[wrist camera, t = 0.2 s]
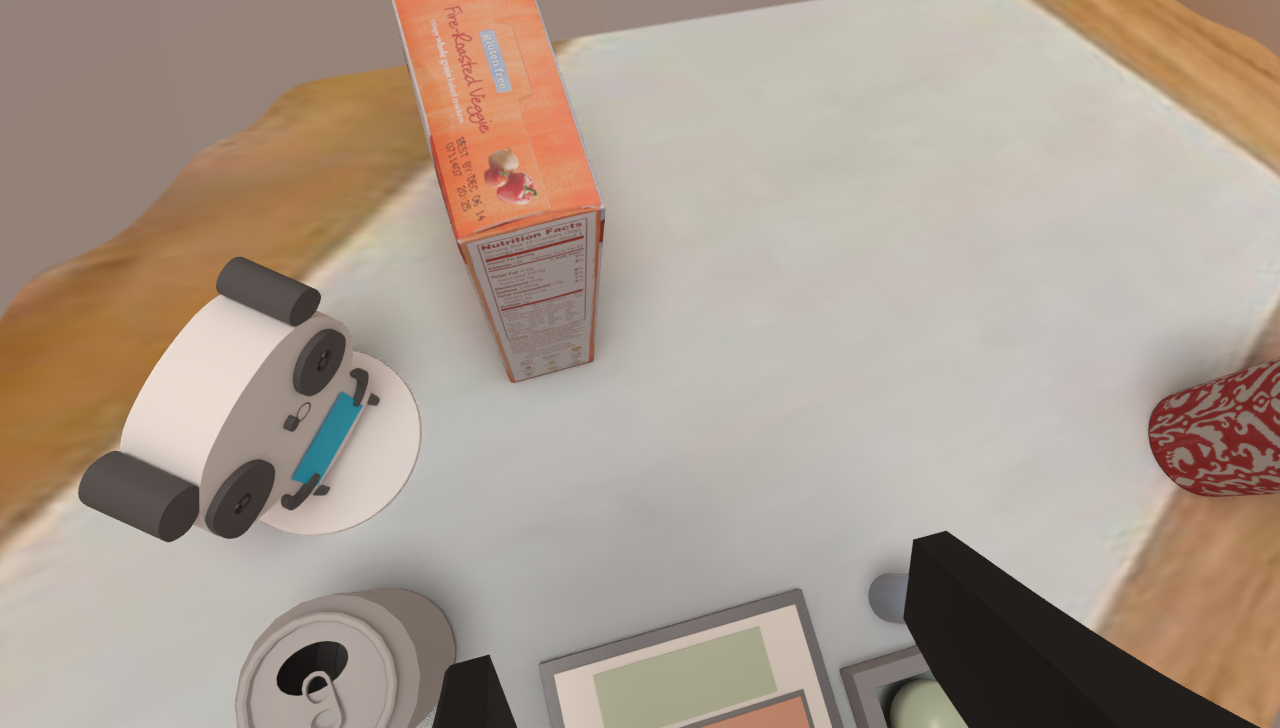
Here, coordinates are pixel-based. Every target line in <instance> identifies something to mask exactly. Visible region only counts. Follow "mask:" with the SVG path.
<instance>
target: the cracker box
mask: <svg viewBox="0 0 1280 728" xmlns="http://www.w3.org/2000/svg"><path fill="white" fill-rule="evenodd" d="M391 2H392V6H393V10H394V14H395V19H396V23H397V27H398V31H399V35H400V39H401V43H402V47H403V51H404V55H405V59H406V63H407V67H408V71H409V75H410V78H411V82H412V86H413V89H414V93H415V97H416V101H417V105H418V109H419V113H420V117H421V120H422V124H423V128H424V132H425V136H426V140H427V144H428V148H429V151H430V155H431V158H432V161H433V165H434V168H435V172H436V175H437V179H438V182H439V186H440V189H441V193H442V196H443V199H444V203H445V206H446V209H447V213H448V216H449V219H450V223H451V226H452V229H453V232H454V235H455V238H456V242H457V245H458V248H459V250H460V253H461V255H462V257H463V260H464V262H465V265H466V268H467V270H468V273H469V276H470V278H471V281H472V283H473V286H474V288H475V291H476V293H477V295H478V298H479V301H480V303H481V306H482V309H483V311H484V314H485V317H486V319H487V322H488V325H489V327H490V330H491V332H492V335H493V337H494V340H495V342H496V345H497V348H498V350H499V353H500V355H501V358H502V361H503V363H504V365H505V368H506V371H507V373H508V376H509V379H510V381H511V382H513V383H514V382H517V381H520V380H524V379H528V378H532V377H536V376H539V375H543V374H547V373H551V372H554V371H558V370H561V369H565V368H569V367H572V366H576V365H580V364H583V363H587V362H591V361H593V360H594V344H595V330H596V317H597V305H598V293H599V279H600V267H601V256H602V244H603V232H604V222H605V206H604V203H603V200H602V197H601V194H600V191H599V188H598V185H597V182H596V179H595V176H594V173H593V170H592V167H591V164H590V160H589V157H588V154H587V151H586V148H585V145H584V142H583V139H582V136H581V133H580V130H579V127H578V124H577V121H576V118H575V115H574V112H573V109H572V106H571V102H570V99H569V96H568V93H567V90H566V87H565V84H564V81H563V78H562V75H561V72H560V69H559V66H558V63H557V60H556V57H555V54H554V51H553V48H552V46H551V43H550V40H549V37H548V34H547V31H546V28H545V25H544V22H543V19H542V16H541V13H540V10H539V7H538V4H537V1H536V0H391Z"/></svg>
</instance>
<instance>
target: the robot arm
mask: <svg viewBox="0 0 1280 728" xmlns="http://www.w3.org/2000/svg"><path fill="white" fill-rule="evenodd" d="M903 619H904V621H905V623H906V625H907V627H908V629H909V630H910V632H911V634H912V636H913V638H914V640H915V642H916V644H917V646H918V648H919V650H920V652H921V654H922V655H923V657H924V659H925V661H926V663H927V665H928V666H929V668H930V670H931V672H932V674H933V676H934V677H935V679H936V680H937V682H938V683H939V685H940V686H941V688H942V689H943V691H944V692H945V694H946V695H947V697H948V698H949V700H950V701H951V703H952V704H953V706H954V707H955V709H956V710H957V712H958V713H959V715H960V716H961V718H962V719H963V720H964V722H965V723H966V725H967V726H968V728H1260V727H1258V726H1256V725H1254V724H1252V723H1250V722H1248V721H1246V720H1245V719H1243V718H1241V717H1239V716H1237V715H1235V714H1233V713H1232V712H1230V711H1228V710H1226V709H1224V708H1222V707H1220V706H1219V705H1217V704H1215V703H1213V702H1211V701H1209V700H1207V699H1206V698H1204V697H1202V696H1200V695H1198V694H1196V693H1194V692H1193V691H1191V690H1189V689H1187V688H1185V687H1184V686H1182V685H1180V684H1178V683H1177V682H1175V681H1173V680H1171V679H1170V678H1168V677H1166V676H1165V675H1163V674H1161V673H1159V672H1158V671H1156V670H1154V669H1153V668H1151V667H1149V666H1148V665H1146V664H1145V663H1143V662H1141V661H1140V660H1138V659H1136V658H1135V657H1133V656H1131V655H1130V654H1128V653H1126V652H1125V651H1123V650H1121V649H1120V648H1118V647H1117V646H1115V645H1113V644H1112V643H1110V642H1109V641H1107V640H1106V639H1104V638H1102V637H1101V636H1099V635H1098V634H1096V633H1095V632H1093V631H1092V630H1090V629H1089V628H1087V627H1085V626H1084V625H1082V624H1081V623H1079V622H1078V621H1076V620H1075V619H1073V618H1072V617H1070V616H1069V615H1067V614H1066V613H1064V612H1063V611H1061V610H1060V609H1058V608H1057V607H1055V606H1054V605H1052V604H1051V603H1049V602H1048V601H1046V600H1045V599H1043V598H1042V597H1040V596H1039V595H1038V594H1036V593H1035V592H1033V591H1032V590H1030V589H1029V588H1027V587H1026V586H1024V585H1023V584H1022V583H1020V582H1019V581H1017V580H1016V579H1014V578H1013V577H1012V576H1010V575H1009V574H1007V573H1006V572H1004V571H1003V570H1002V569H1000V568H999V567H997V566H996V565H994V564H993V563H992V562H990V561H989V560H987V559H986V558H985V557H983V556H982V555H980V554H979V553H977V552H976V551H975V550H973V549H972V548H970V547H969V546H968V545H966V544H965V543H963V542H962V541H960V540H959V539H957V538H956V537H955V536H953V535H952V534H950V533H949V532H947V531H944V532H940V533H936V534H932V535H929V536H925V537H921V538H918V539H914V540H913V546H912V554H911V561H910V569H909V577H908V584H907V592H906V600H905V607H904V615H903ZM432 728H517V726H516V723H515V721H514V718H513V716H512V713H511V710H510V708H509V705H508V702H507V700H506V697H505V695H504V692H503V689H502V687H501V684H500V681H499V679H498V676H497V673H496V671H495V668H494V666H493V663H492V660H491V658H490V655H486V656H482V657H479V658H475V659H471V660H468V661H464V662H460V663H456V664H453V665H450V666H449V667H448V669H447V670H446V671H445V674H444V679H443V684H442V689H441V694H440V698H439V702H438V706H437V711H436V715H435V719H434V723H433V726H432Z"/></svg>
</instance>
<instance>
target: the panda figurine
mask: <svg viewBox="0 0 1280 728" xmlns="http://www.w3.org/2000/svg"><path fill="white" fill-rule="evenodd" d="M216 288H217V291H218V293H219V294H221V295H219V296H217V297H216V298H215V299H213V300H212V301H210V302H209V303H208V304H207V305H205V306H204V307H203V308H202V309H201V310H200V311H199V312H198V313H197V314H196V315H195V316H194V317H193V318H192V319H191V320H190V321H189V323H188V324H187V325H186V326H185V327H184V329H183V330H182V331H181V332H180V333H179V335H178V336H177V337H176V339H175V340H174V341H173V342H172V344H171V345H170V346H169V348H168V349H167V350H166V352H165V353H164V355H163V356H162V357H161V359H160V360H159V362H158V363H157V365H156V366H155V368H154V369H153V371H152V372H151V374H150V376H149V377H148V379H147V381H146V382H145V384H144V386H143V388H142V390H141V391H140V393H139V395H138V397H137V399H136V401H135V403H134V405H133V407H132V409H131V411H130V413H129V416H128V418H127V421H126V423H125V426H124V429H123V433H122V438H121V444H120V452H119V451H113V452H110V453H107V454H105V455H104V456H102V457H100V458H99V459H97V460H96V461H95V462H94V463H93V464H92V465H90V467H89V468H88V469H87V470H86V472H85V473H84V475H83V477H82V479H81V482H80V486H79V491H78V494H79V499H80V500H81V502H82V503H83V504H85V505H86V506H88V507H91V508H93V509H95V510H97V511H99V512H102V513H104V514H106V515H108V516H110V517H113V518H115V519H117V520H119V521H121V522H124V523H126V524H128V525H130V526H132V527H135V528H137V529H139V530H141V531H143V532H146V533H148V534H150V535H152V536H154V537H157V538H159V539H161V540H163V541H165V542H172V541H174V540H176V539H178V538H180V537H181V536H182V535H184V534H185V533H186V532H187V531H188V530H189V529H190V528H191V526H192V525H195V526H197V527H200V528H202V529H204V530H206V531H208V532H211V533H213V534H215V535H218V536H221V537H223V538H228V539H232V538H237V537H239V536H241V535H242V534H244V533H245V532H246V531H247V530H248V529H249V528H250V526H251V525H252V524H253V522H255V521H256V520H257V519H260V520H261V521H263V522H264V523H266V524H268V525H270V526H272V527H274V528H277V529H280V530H283V531H287V532H291V533H296V534H305V535H322V534H331V533H335V532H340V531H343V530H346V529H349V528H352V527H354V526H357V525H359V524H361V523H363V522H365V521H367V520H369V519H370V518H372V517H373V516H375V515H376V514H378V513H379V512H380V511H382V510H383V509H384V508H385V507H386V506H387V505H388V504H389V503H390V502H391V501H393V500H394V498H395V497H396V496H397V495H398V494H399V492H400V491H401V490H402V488H403V487H404V486H405V484H406V483H407V481H408V479H409V477H410V475H411V473H412V471H413V469H414V467H415V464H416V461H417V458H418V454H419V449H420V443H421V423H420V417H419V412H418V409H417V406H416V403H415V400H414V398H413V396H412V394H411V392H410V391H409V389H408V388H407V386H406V385H405V383H404V382H403V381H402V380H401V379H400V377H399V376H398V375H397V374H396V373H395V372H394V371H393V370H391V369H390V368H389V367H388V366H386V365H385V364H383V363H382V362H380V361H378V360H377V359H375V358H373V357H370V356H368V355H365V354H363V353H359V352H356V351H353V342H352V337H351V334H350V331H349V329H348V328H347V326H346V325H345V324H344V323H342V322H341V321H339V320H336V319H334V318H332V317H330V316H327V315H325V314H323V313H321V312H318V311H316V310H317V308H318V306H319V303H320V300H321V295H320V293H319V292H318V291H317V290H316V289H314V288H312V287H309V286H307V285H305V284H303V283H300V282H298V281H296V280H293V279H291V278H289V277H287V276H284V275H282V274H280V273H278V272H275V271H273V270H271V269H268V268H266V267H264V266H262V265H259V264H257V263H255V262H253V261H250V260H248V259H246V258H243V257H235V258H233V259H232V260H230V261H229V262H228V263H227V264H226V265H225V267H224V268H223V270H222V271H221V273H220V275H219V277H218V279H217V283H216Z"/></svg>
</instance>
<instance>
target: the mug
mask: <svg viewBox="0 0 1280 728" xmlns="http://www.w3.org/2000/svg"><path fill="white" fill-rule="evenodd" d="M1149 434H1150V443H1151V447H1152V450H1153V452H1154V455H1155V457H1156V459H1157V461H1158V463H1159V464H1160V466H1161V467H1162V469H1163V470H1164V471H1165V473H1166V474H1167V475H1168V476H1169V477H1170V478H1171V479H1172V480H1173V481H1174V482H1175V483H1177V484H1178V485H1180V486H1181V487H1183V488H1184V489H1186V490H1188V491H1190V492H1193V493H1195V494H1198V495H1203V496H1213V497H1220V496H1240V495H1261V494H1280V357H1279V358H1276V359H1273V360H1271V361H1268V362H1265V363H1262V364H1259V365H1256V366H1253V367H1250V368H1247V369H1244V370H1241V371H1238V372H1235V373H1232V374H1229V375H1227V376H1224V377H1221V378H1218V379H1215V380H1212V381H1210V382H1207V383H1204V384H1201V385H1198V386H1195V387H1192V388H1189V389H1186V390H1183V391H1180V392H1177V393H1175V394H1172V395H1170V396H1169V397H1167V398H1165V399H1164V400H1163V401H1162V402H1161V403H1160V404H1159V405H1158V406H1157V407H1156V409H1155V410H1154V412H1153V415H1152V418H1151V421H1150V429H1149Z"/></svg>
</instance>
